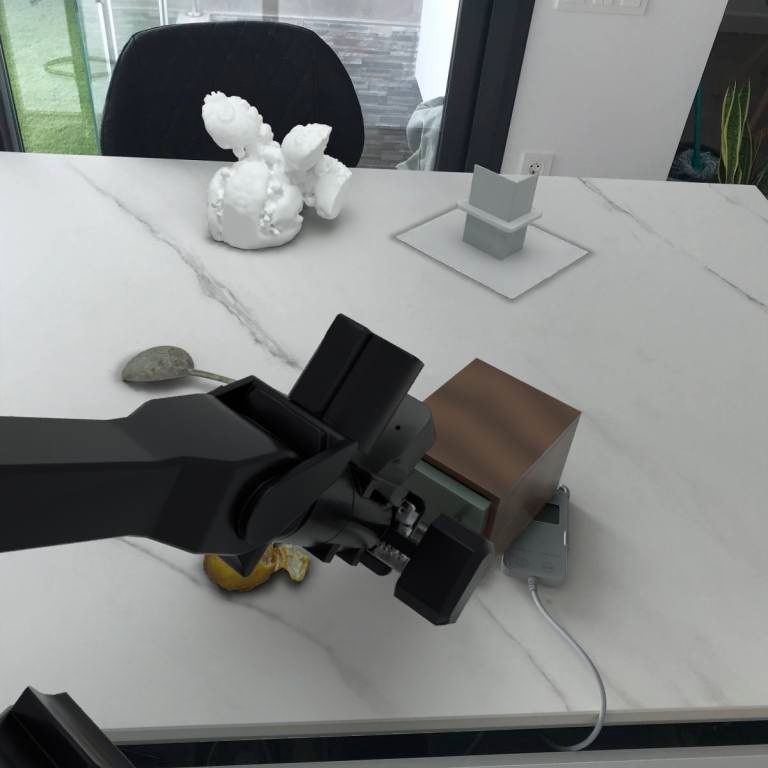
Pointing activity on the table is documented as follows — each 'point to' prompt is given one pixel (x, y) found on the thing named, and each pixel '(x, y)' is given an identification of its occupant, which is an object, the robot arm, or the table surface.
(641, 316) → the table surface
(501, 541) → the cabinet
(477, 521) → the drawer
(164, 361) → the soupspoon
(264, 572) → the fruit
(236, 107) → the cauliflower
